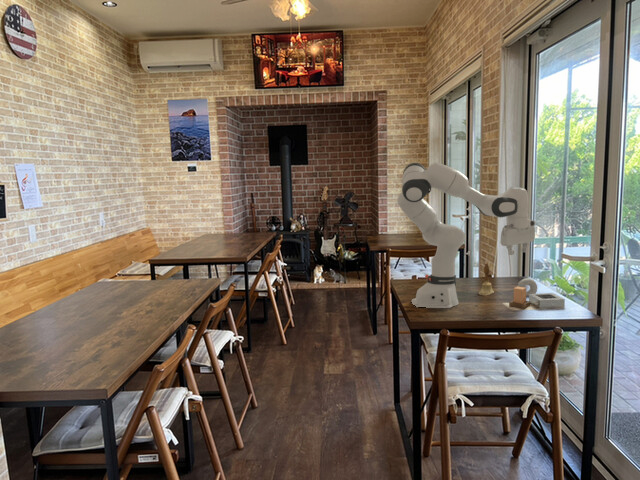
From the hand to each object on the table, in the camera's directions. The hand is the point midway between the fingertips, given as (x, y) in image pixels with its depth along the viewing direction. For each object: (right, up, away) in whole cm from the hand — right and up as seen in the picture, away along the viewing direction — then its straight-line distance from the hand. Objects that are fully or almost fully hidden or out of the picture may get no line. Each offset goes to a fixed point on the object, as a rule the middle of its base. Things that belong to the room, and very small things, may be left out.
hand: (517, 253), depth 211 cm
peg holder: (+1, -24, +1) cm, 24 cm away
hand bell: (-3, -22, +30) cm, 37 cm away
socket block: (+13, -24, 0) cm, 27 cm away
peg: (+1, -24, +1) cm, 24 cm away
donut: (+12, -23, +18) cm, 32 cm away
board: (+7, -25, +1) cm, 26 cm away
